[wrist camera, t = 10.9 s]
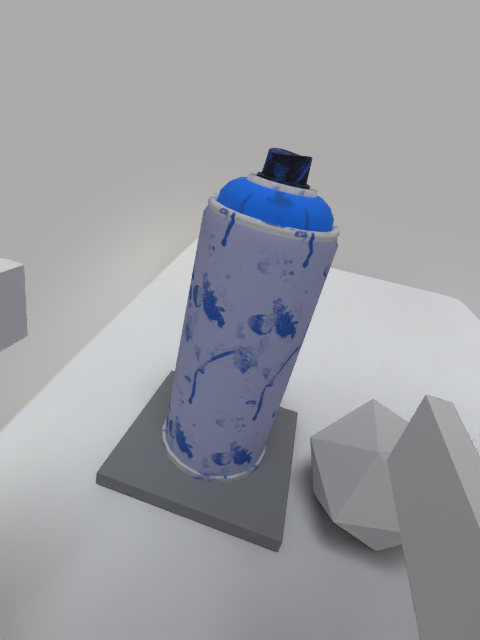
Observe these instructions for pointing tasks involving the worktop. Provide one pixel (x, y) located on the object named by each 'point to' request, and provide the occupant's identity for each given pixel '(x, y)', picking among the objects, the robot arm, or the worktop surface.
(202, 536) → the worktop surface
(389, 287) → the worktop surface
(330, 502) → the die
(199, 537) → the worktop surface
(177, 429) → the aerosol can
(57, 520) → the worktop surface
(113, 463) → the mat
